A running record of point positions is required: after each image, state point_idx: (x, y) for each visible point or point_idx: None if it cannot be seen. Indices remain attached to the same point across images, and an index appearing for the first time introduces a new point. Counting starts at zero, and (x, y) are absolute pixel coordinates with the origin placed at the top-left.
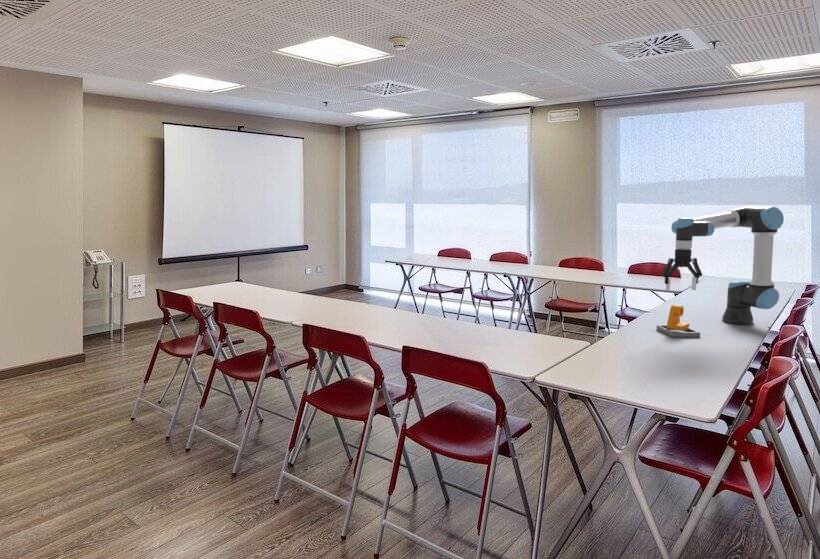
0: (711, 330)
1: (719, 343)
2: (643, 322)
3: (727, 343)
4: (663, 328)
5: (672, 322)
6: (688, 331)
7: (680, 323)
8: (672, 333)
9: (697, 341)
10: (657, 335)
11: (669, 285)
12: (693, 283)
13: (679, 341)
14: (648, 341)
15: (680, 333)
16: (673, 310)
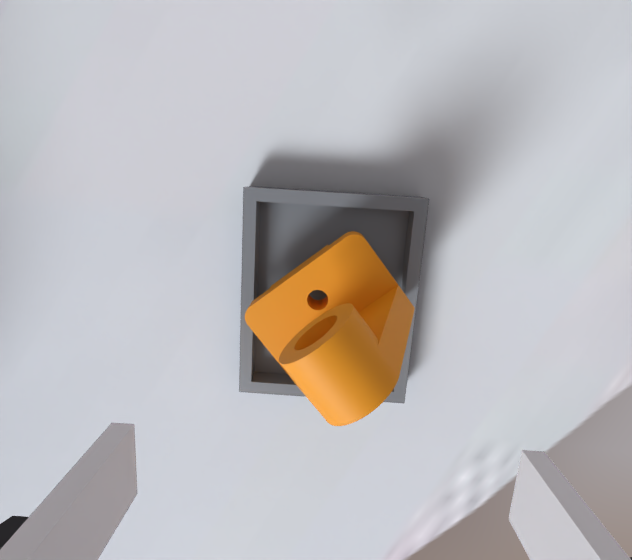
0: (87, 333)
1: (216, 21)
2: (367, 548)
3: (165, 14)
4: (413, 322)
5: (386, 298)
6: (256, 297)
7: (310, 314)
8: (426, 207)
9: (324, 91)
10: (476, 267)
11: (580, 513)
12: (80, 538)
13: (436, 106)
14: (628, 133)
15: (378, 195)
16: (383, 347)
